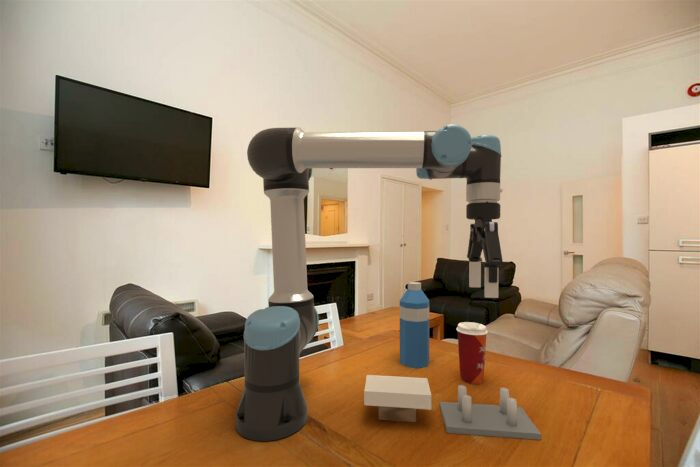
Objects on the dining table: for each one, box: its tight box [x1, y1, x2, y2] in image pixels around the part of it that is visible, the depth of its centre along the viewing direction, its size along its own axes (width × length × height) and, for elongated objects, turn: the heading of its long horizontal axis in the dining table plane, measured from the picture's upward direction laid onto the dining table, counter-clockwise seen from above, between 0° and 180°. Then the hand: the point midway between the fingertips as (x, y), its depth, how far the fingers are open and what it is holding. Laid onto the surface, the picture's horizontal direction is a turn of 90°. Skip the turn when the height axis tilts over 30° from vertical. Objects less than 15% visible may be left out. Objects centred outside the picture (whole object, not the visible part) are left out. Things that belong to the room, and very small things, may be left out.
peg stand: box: [439, 384, 542, 441], centre depth 70 cm, size 18×10×6 cm, turn 83°
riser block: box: [378, 406, 417, 423], centre depth 72 cm, size 8×4×4 cm, turn 83°
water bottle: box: [399, 281, 430, 369], centre depth 102 cm, size 9×9×25 cm
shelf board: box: [363, 374, 432, 411], centre depth 72 cm, size 14×8×3 cm, turn 83°
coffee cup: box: [455, 321, 488, 385], centre depth 91 cm, size 8×8×15 cm
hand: (482, 291), depth 77 cm, fingers open, 13 cm apart
